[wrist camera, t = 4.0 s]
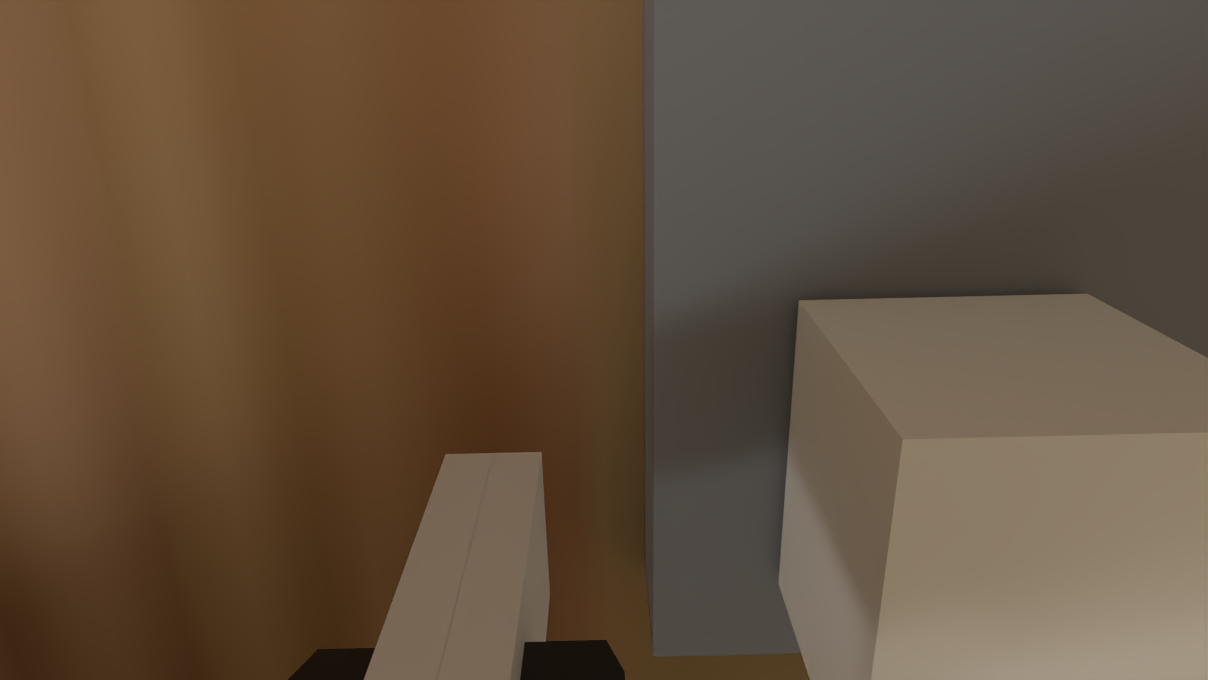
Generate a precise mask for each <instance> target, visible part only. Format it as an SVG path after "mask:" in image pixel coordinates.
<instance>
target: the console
mask: <svg viewBox="0 0 1208 680" xmlns="http://www.w3.org/2000/svg"><path fill="white" fill-rule="evenodd" d="M644 271H645V568H646V580H647V591H648V602H649V614H650V625H651V636H652V648H653V657H673V656H718V655H762V654H801V651H800V648H799V645H798V642H797V639H796V636H795V633H794V630H793V627H792V624H791V621H790V617H789V614H788V611H787V608H786V605H785V602H784V599H783V596H782V593H781V590H780V587H779V584H778V582H779V568H780V554H781V540H782V527H783V513H784V499H785V485H786V471H787V457H788V443H789V429H790V416H791V402H792V388H793V374H794V360H795V346H796V332H797V318H798V305H799V300H831V299H875V298H918V297H962V296H1006V295H1049V294H1089V295H1091V296H1093V297H1095V298H1097V299H1098V300H1100V301H1102V302H1104V303H1106V304H1108V305H1110V306H1112V307H1113V308H1115V309H1117V310H1119V311H1121V312H1123V313H1125V314H1127V315H1128V316H1130V317H1132V318H1134V319H1136V320H1138V321H1140V322H1141V323H1143V324H1145V325H1147V326H1149V327H1151V328H1153V329H1155V330H1156V331H1158V332H1160V333H1162V334H1164V335H1166V336H1168V337H1169V338H1171V339H1173V340H1175V341H1177V342H1179V343H1181V344H1183V345H1184V346H1186V347H1188V348H1190V349H1192V350H1194V351H1196V352H1198V353H1199V354H1201V355H1203V356H1205V357H1207V358H1208V0H644Z"/></svg>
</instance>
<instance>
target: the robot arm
mask: <svg viewBox="0 0 1208 680" xmlns="http://www.w3.org/2000/svg"><path fill="white" fill-rule="evenodd" d="M549 600H550V585H549V569H548V552H547V535H546V519H545V502H544V485H543V469H542V452H517V453H474V454H445V457H444V460H443V463H442V466H441V468H440V471H439V474H438V477H437V479H436V482H435V485H434V488H433V490H432V493H431V496H430V499H429V501H428V504H427V507H426V510H425V512H424V515H423V518H422V521H421V523H420V526H419V529H418V532H417V534H416V537H415V540H414V543H413V545H412V548H411V551H410V554H409V556H408V559H407V562H406V565H405V567H404V570H403V573H402V576H401V578H400V581H399V584H398V587H397V589H396V592H395V595H394V598H393V600H392V603H391V606H390V609H389V612H388V614H387V617H386V620H385V623H384V625H383V628H382V631H381V634H380V636H379V639H378V642H377V645H376V647H375V648H355V649H318V650H317V651H316V652H315V653H314V654H313V655H312V656H311V657H310V658H309V659H308V660H307V661H306V662H305V663H304V664H303V665H302V666H301V667H300V668H299V669H298V670H297V671H296V672H295V673H294V674H293V675H292V676H291V677H290V678H289V679H288V680H625V674H624V670H623V669H622V667H621V665H620V663H619V662H618V660H617V658H616V656H615V655H614V653H613V651H612V649H611V648H610V646H609V644H608V642H607V641H606V640H588V641H546V634H547V623H548V611H549Z"/></svg>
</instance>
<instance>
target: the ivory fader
mask: <svg viewBox="0 0 1208 680" xmlns="http://www.w3.org/2000/svg"><path fill="white" fill-rule="evenodd" d="M778 584H779V587H780V590H781V593H782V596H783V599H784V602H785V605H786V608H787V611H788V614H789V617H790V621H791V624H792V627H793V630H794V633H795V636H796V639H797V642H798V645H799V648H800V651H801V654H802V657H803V660H804V663H805V666H806V670H807V673H808V676H809V679H810V680H1208V358H1207V357H1205V356H1203V355H1201V354H1199V353H1198V352H1196V351H1194V350H1192V349H1190V348H1188V347H1186V346H1184V345H1183V344H1181V343H1179V342H1177V341H1175V340H1173V339H1171V338H1169V337H1168V336H1166V335H1164V334H1162V333H1160V332H1158V331H1156V330H1155V329H1153V328H1151V327H1149V326H1147V325H1145V324H1143V323H1141V322H1140V321H1138V320H1136V319H1134V318H1132V317H1130V316H1128V315H1127V314H1125V313H1123V312H1121V311H1119V310H1117V309H1115V308H1113V307H1112V306H1110V305H1108V304H1106V303H1104V302H1102V301H1100V300H1098V299H1097V298H1095V297H1093V296H1091V295H1089V294H1049V295H1006V296H962V297H918V298H875V299H831V300H799V305H798V318H797V332H796V346H795V360H794V374H793V388H792V402H791V416H790V429H789V443H788V457H787V471H786V485H785V499H784V513H783V527H782V540H781V554H780V568H779V582H778Z"/></svg>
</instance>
